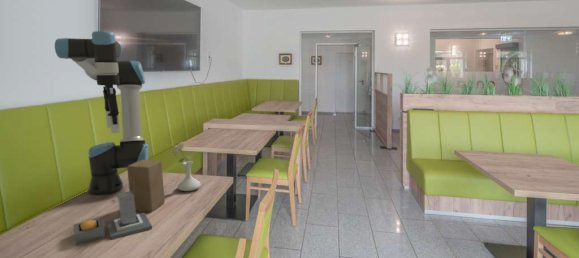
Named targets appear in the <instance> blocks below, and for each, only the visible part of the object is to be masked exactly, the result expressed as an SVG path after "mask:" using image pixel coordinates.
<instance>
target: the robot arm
mask: <svg viewBox="0 0 579 258" xmlns="http://www.w3.org/2000/svg"><path fill="white" fill-rule="evenodd" d="M54 50H55V54H56V56H57V57H58V58H59V59H64V60H65V59H66V60H69V59H70V60H72V61H73V62H74V63H75V64H76V65H77V66H79V67H80V68H82V70H84V72H85V74H86V75H87V76H88V78H90V79H92V80H94V81H96V84H97V85H98V86H103V87H102V88H103V90H102V94H103V98H104V110H105V117H106V127H107V128H108V129H110V130H111V131H110V132H111V134H118V133H119V134H120V133H121V129H120V120H119V114H120V111H119V107H118V101H117V90H116V88H117V89H118V90H119V91H120V106H121V124H122V138H121V139H120V140H119V144H118V145H117V144H116V143H115V142H113V141H110V142H109V141H108V142H104V143H103V142H102V143H98V144H95V145H93V146H91V147H90V148H89V149H88V162H89V170H90V175H91V176H90V181H89V185H88V193H89V194H90V195H93V196H95V195H96V196H101V195H109V194H114V193H117V192H119V191H121V190H122V189H124V183H123V180H122V179H121V177H120V175H119V171H118V169H127V166H129V165H131V164H133V163H136V162H138V161H140V160H149V154H150V151H149V149H150V148H149V147H150V146H149V143H147V142H146V139H144V137H143V136H142V121H141V120H142V118H141V105H140V104H141V103H140V102H141V100H140V99H141V98H140V90H141V89H142V88H143V85H144V84H145V83H146V78H145V73H144V70H143V66H142V63H141V62H140V61H138V60H118V58H119V57H121V55H122V54H123V47H122V44H120V43H119V41H118V40H116V35H115V33H114V32H113V31H105V30H103V31H102V30H100V31H99V30H96V31H92V33H91V38H70V37H69V38H68V37H65V38H57V39H56V40H55V42H54ZM114 86H116V88H115V87H114Z"/></svg>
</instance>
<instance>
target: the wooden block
mask: <svg viewBox="0 0 579 258" xmlns="http://www.w3.org/2000/svg"><path fill="white" fill-rule="evenodd" d="M126 169H127V178H128V179H127V180H128V189H129V190H128V191H132V192H133V194H134V200H135V210H136V212H143V213H146V212H147V213H153V212H154V211H156V210H157V209H158V208H160V207H161V206H162V205H165V203H166V202H165V201H166V200H165V190H164V177H163V165H162V161H161V160H151V159H150V160H149V159H148V160H140V161H138V162H136V163H133V164H131V165H129V166H127V168H126Z"/></svg>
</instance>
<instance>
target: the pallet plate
mask: <svg viewBox="0 0 579 258" xmlns="http://www.w3.org/2000/svg"><path fill="white" fill-rule="evenodd" d="M136 220H137V223H135V224H131V225H127V226H123V227H122V225H121V222H120V217H119V218H115V219H111V220H107V221H106V227H107V231H108V234H109V237H110V240H114V239H118V238H121V237H125V236H130V235H133V234H137V233H142V232H146V231H149V230H152V229H153V226H152V224H151V222H150V219H148V216H147V215H146V212H142V213H136Z"/></svg>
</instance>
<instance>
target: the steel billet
mask: <svg viewBox="0 0 579 258" xmlns="http://www.w3.org/2000/svg"><path fill="white" fill-rule="evenodd" d="M117 200H118V201H117V204H118V213H119V218H120V222H121V225H122V227H123V226H127V225H131V224H135V223H137V220H136V214H137V211H136V210H135V200H134V194H133V192H132V191H130V190H128V191H123V192H119V193H117Z"/></svg>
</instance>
